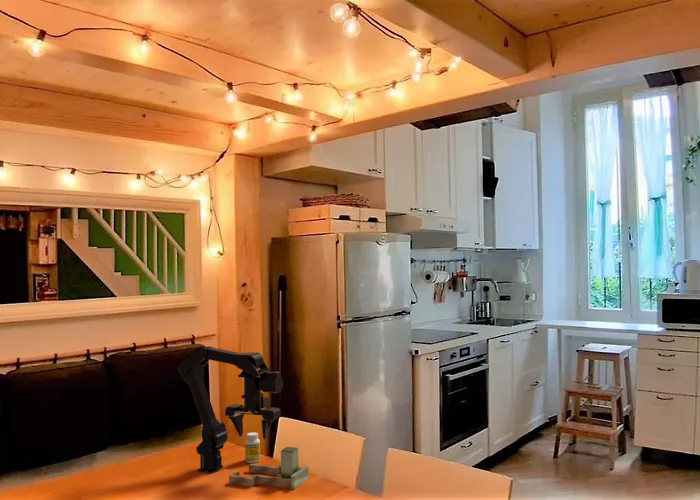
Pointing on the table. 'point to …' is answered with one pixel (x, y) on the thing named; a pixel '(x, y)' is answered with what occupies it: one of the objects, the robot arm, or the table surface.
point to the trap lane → (269, 477)
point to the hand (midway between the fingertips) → (252, 437)
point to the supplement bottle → (252, 448)
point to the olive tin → (289, 462)
